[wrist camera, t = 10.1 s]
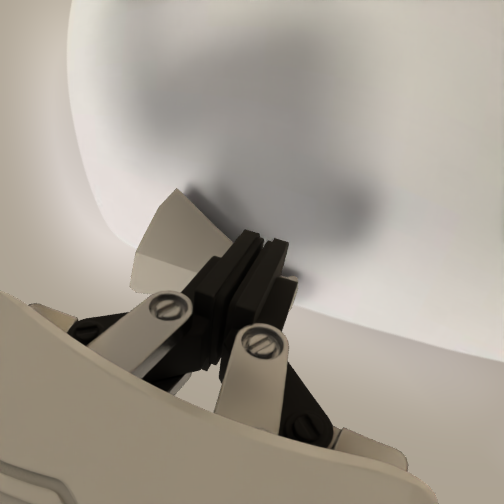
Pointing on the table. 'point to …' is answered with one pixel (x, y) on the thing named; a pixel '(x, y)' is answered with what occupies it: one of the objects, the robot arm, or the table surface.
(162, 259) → the flask
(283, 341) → the robot arm
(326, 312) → the table surface
